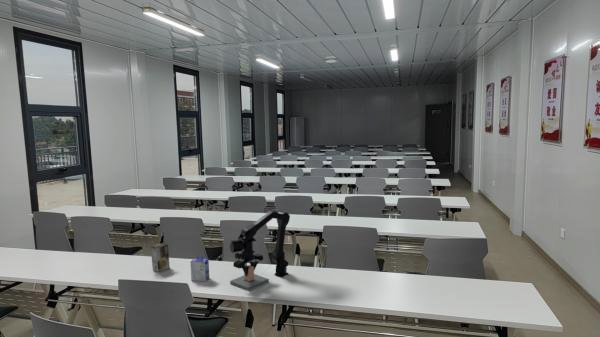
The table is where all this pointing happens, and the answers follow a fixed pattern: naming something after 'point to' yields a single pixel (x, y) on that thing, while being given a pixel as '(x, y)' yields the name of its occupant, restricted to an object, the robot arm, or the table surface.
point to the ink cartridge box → (199, 269)
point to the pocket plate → (249, 285)
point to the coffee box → (160, 257)
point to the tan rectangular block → (250, 274)
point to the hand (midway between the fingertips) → (249, 274)
